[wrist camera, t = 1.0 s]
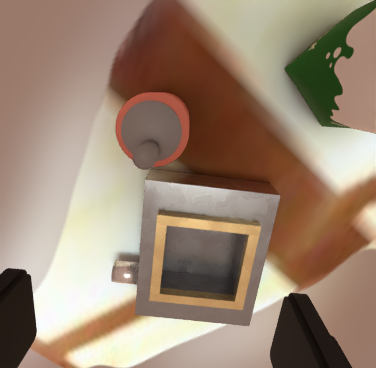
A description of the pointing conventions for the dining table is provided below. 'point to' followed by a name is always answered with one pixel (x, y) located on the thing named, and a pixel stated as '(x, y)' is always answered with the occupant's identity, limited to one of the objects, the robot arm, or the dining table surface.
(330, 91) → the milk carton
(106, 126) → the dining table surface
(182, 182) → the grey square socket base
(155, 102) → the oil can
